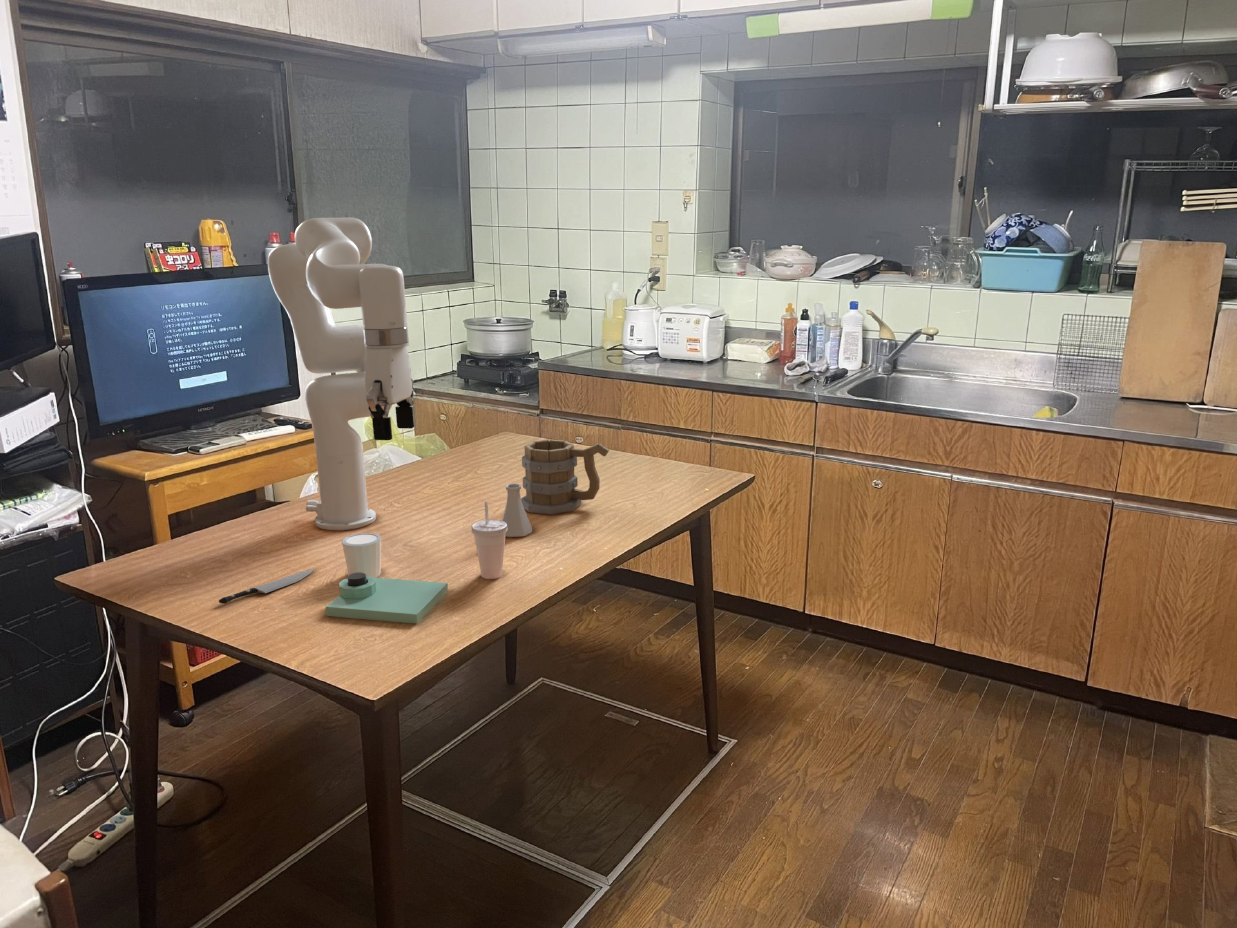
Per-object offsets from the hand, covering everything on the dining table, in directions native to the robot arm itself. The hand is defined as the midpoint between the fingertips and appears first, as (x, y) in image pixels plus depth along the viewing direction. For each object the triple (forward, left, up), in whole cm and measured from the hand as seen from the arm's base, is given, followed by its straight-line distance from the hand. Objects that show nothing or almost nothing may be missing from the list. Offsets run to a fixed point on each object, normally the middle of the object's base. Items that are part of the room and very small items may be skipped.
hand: (394, 433), depth 164 cm
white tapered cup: (-6, -5, -26) cm, 27 cm away
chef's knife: (-19, -14, -26) cm, 35 cm away
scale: (+4, -16, -26) cm, 30 cm away
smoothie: (+17, -1, -26) cm, 31 cm away
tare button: (-1, -16, -22) cm, 28 cm away
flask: (+14, +22, -26) cm, 37 cm away
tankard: (+20, +40, -26) cm, 52 cm away
